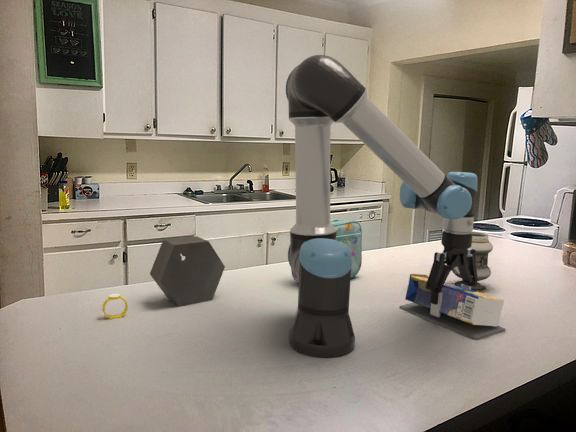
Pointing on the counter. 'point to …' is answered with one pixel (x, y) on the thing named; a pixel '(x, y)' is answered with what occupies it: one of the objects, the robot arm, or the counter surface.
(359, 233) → the lunch box
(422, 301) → the beverage box
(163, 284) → the planter
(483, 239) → the apothecary jar
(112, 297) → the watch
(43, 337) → the counter surface
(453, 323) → the mat
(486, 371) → the counter surface
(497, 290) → the counter surface
